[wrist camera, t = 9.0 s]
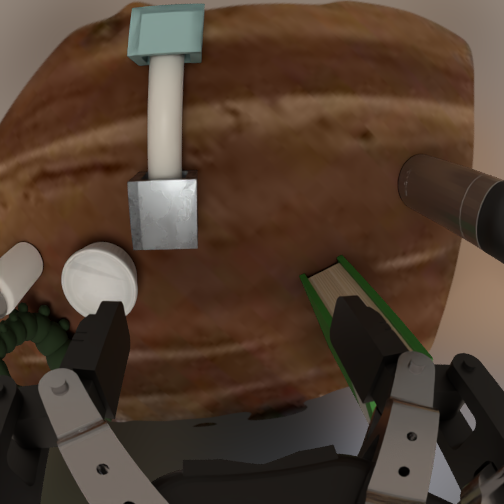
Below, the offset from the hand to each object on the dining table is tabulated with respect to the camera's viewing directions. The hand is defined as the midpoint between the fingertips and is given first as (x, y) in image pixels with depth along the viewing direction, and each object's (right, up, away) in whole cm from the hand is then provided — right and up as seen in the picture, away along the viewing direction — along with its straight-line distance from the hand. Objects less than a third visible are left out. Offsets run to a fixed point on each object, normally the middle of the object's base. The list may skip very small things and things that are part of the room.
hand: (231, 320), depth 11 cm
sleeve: (-10, +9, +28) cm, 31 cm away
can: (-34, +1, +27) cm, 44 cm away
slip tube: (-10, +18, +24) cm, 31 cm away
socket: (-9, +28, +19) cm, 35 cm away
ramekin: (-20, 0, +31) cm, 37 cm away
